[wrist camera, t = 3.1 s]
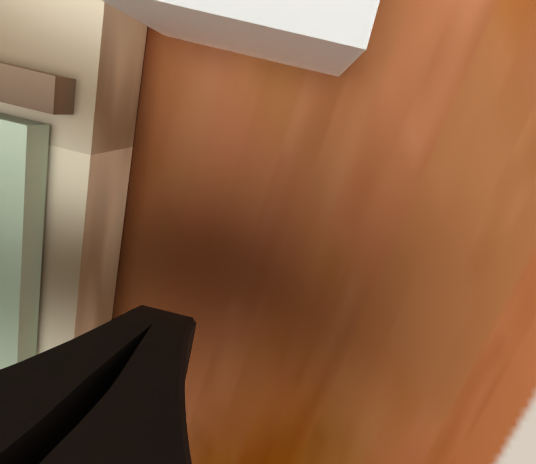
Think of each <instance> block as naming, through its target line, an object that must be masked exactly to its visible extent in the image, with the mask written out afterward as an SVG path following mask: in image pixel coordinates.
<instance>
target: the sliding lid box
mask: <svg viewBox="0 0 536 464" xmlns="http://www.w3.org/2000/svg"><path fill="white" fill-rule="evenodd" d="M147 27H148V26H146V25H145V24H143V23H141V22H139V21H137V20H136V19H134V18H132V17H130V16H129V15H127V14H125V13H123V12H121V11H120V10H118V9H116V8H114V7H113V6H111V5H109V4H107V3H106V2H104V1H102V0H0V113H3V114H7V115H11V116H15V117H20V118H24V119H28V120H32V121H36V122H40V123H44V124H48V125H50V127H49V144H48V161H47V178H46V195H45V212H44V229H43V246H42V263H41V280H40V298H39V315H38V332H37V349H36V355H37V354H40V353H42V352H44V351H47V350H49V349H51V348H53V347H56V346H58V345H60V344H63V343H65V342H67V341H70V340H72V339H74V338H76V337H78V336H80V335H82V334H84V333H86V332H88V331H90V330H92V329H95V328H97V327H99V326H101V325H103V324H105V323H107V322H109V321H111V320H112V313H113V305H114V297H115V289H116V280H117V272H118V264H119V256H120V248H121V239H122V231H123V223H124V215H125V207H126V199H127V190H128V182H129V174H130V166H131V158H132V149H133V141H134V133H135V125H136V117H137V109H138V100H139V92H140V84H141V76H142V68H143V60H144V51H145V43H146V35H147Z"/></svg>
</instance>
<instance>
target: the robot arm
mask: <svg viewBox="0 0 536 464" xmlns="http://www.w3.org/2000/svg"><path fill="white" fill-rule="evenodd" d="M195 328H196V322H195V321H194V319H193V318H192V317H188V316H184V315H179V314H175V313H171V312H167V311H163V310H159V309H155V308H151V307H147V306H143V305H141V306H139V307H137V308H135V309H132V310H130V311H128V312H126V313H124V314H122V315H121V316H119V317H117V318H115V319H113V320H111V321H109V322H107V323H105V324H103V325H101V326H99V327H97V328H95V329H92V330H90V331H88V332H86V333H84V334H82V335H80V336H78V337H76V338H74V339H72V340H70V341H67V342H65V343H63V344H60V345H58V346H56V347H53V348H51V349H49V350H47V351H44V352H42V353H40V354H37V355H35V356H33V357H30V358H28V359H26V360H23V361H21V362H18V363H16V364H13V365H11V366H8V367H5V368H3V369H0V464H192V463H191V456H190V450H189V442H188V434H187V424H186V411H185V378H186V373H187V368H188V363H189V358H190V353H191V348H192V343H193V338H194V333H195Z"/></svg>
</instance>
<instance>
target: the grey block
mask: <svg viewBox="0 0 536 464" xmlns="http://www.w3.org/2000/svg"><path fill="white" fill-rule="evenodd" d="M102 1H104V2H106V3H107V4H109V5H111V6H113V7H114V8H116V9H118V10H120V11H121V12H123V13H125V14H127V15H129V16H130V17H132V18H134V19H136V20H137V21H139V22H141V23H143V24H145V25H146V26H148V27H150V28H152V29H153V30H155V31H157V32H159V33H160V34H162V35H164V36H167V37H171V38H175V39H180V40H184V41H188V42H192V43H197V44H201V45H205V46H209V47H214V48H218V49H222V50H226V51H231V52H235V53H239V54H244V55H248V56H252V57H256V58H261V59H265V60H269V61H273V62H278V63H282V64H286V65H290V66H295V67H299V68H303V69H307V70H312V71H316V72H320V73H324V74H329V75H333V76H337V77H340V76H341V74H342V73H343V72H344V71H345V70H346V69H347V68H348V67H349V66H350V65H351V64H352V63H353V62H354V61H355V60H356V59H357V58H358V57H359V56H360V55H361V54H362V53H363V52H364V51H365V50H366V49H367V45H368V42H369V38H370V34H371V31H372V27H373V23H374V20H375V16H376V13H377V9H378V5H379V2H380V0H102Z"/></svg>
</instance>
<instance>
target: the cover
mask: <svg viewBox="0 0 536 464" xmlns="http://www.w3.org/2000/svg"><path fill="white" fill-rule="evenodd" d="M49 127H50V125H48V124H44V123H40V122H36V121H32V120H28V119H24V118H20V117H15V116H11V115H7V114H3V113H0V369H3V368H5V367H8V366H11V365H13V364H16V363H18V362H21V361H23V360H26V359H28V358H30V357H33V356H35V355H36V349H37V332H38V315H39V298H40V280H41V263H42V246H43V229H44V212H45V195H46V178H47V161H48V144H49Z"/></svg>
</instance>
